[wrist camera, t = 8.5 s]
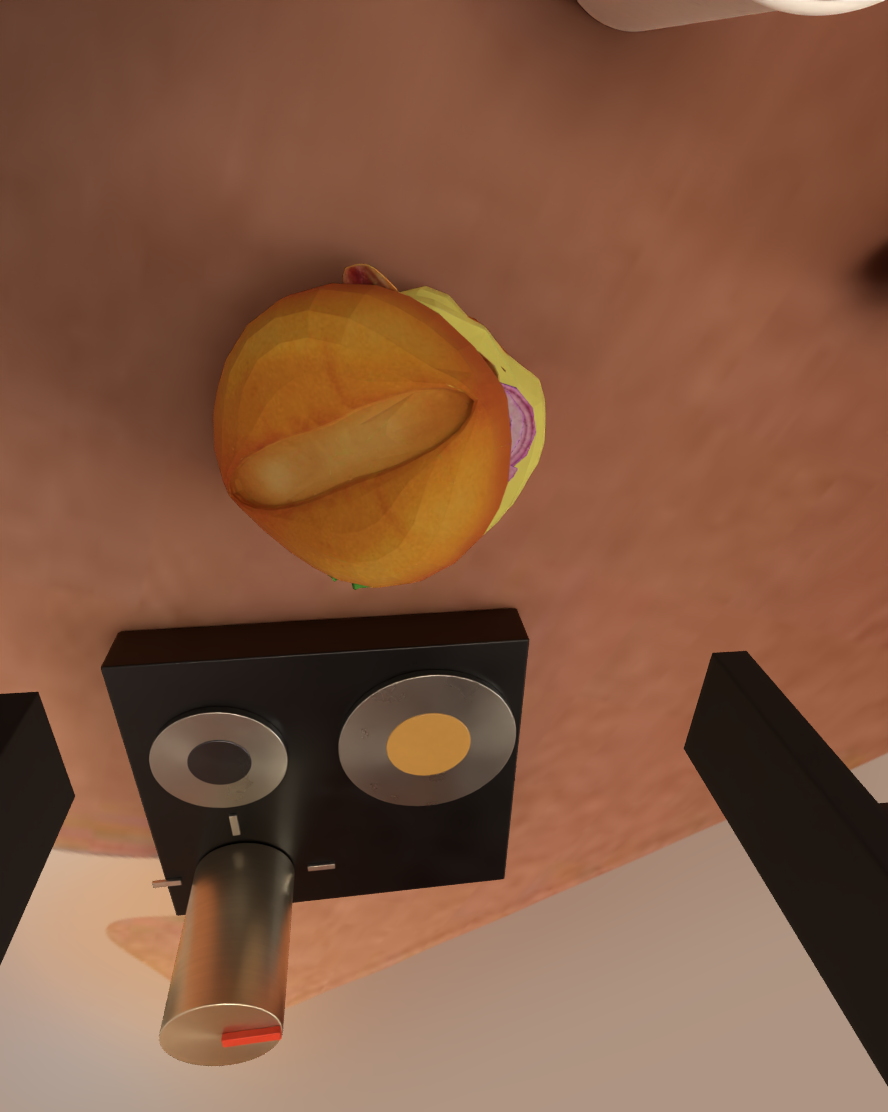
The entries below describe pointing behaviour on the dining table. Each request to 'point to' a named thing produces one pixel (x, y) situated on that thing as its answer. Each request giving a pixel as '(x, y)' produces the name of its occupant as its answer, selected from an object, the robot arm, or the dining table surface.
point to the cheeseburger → (375, 428)
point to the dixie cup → (704, 10)
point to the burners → (350, 745)
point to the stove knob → (231, 958)
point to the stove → (318, 746)
